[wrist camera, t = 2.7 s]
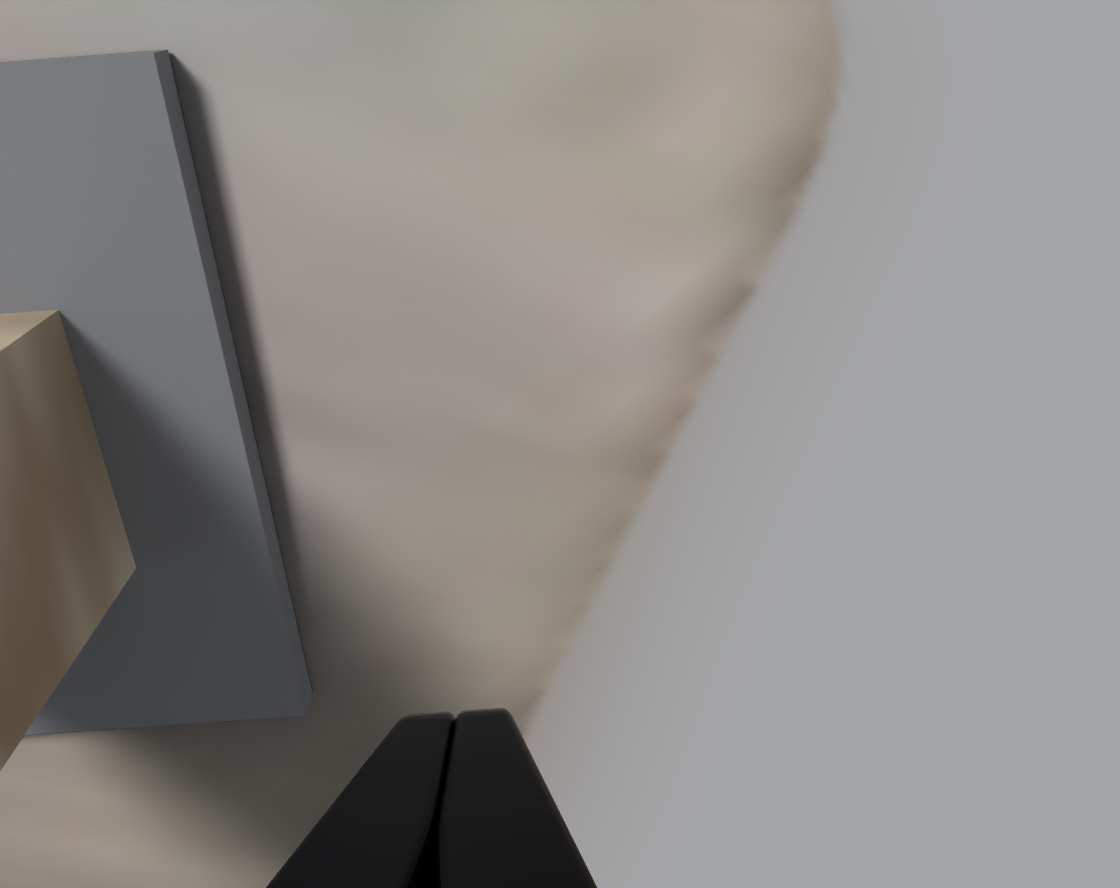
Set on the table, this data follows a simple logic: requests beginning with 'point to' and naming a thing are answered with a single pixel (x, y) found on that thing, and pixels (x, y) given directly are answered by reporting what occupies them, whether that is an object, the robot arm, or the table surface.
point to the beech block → (49, 520)
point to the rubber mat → (148, 396)
